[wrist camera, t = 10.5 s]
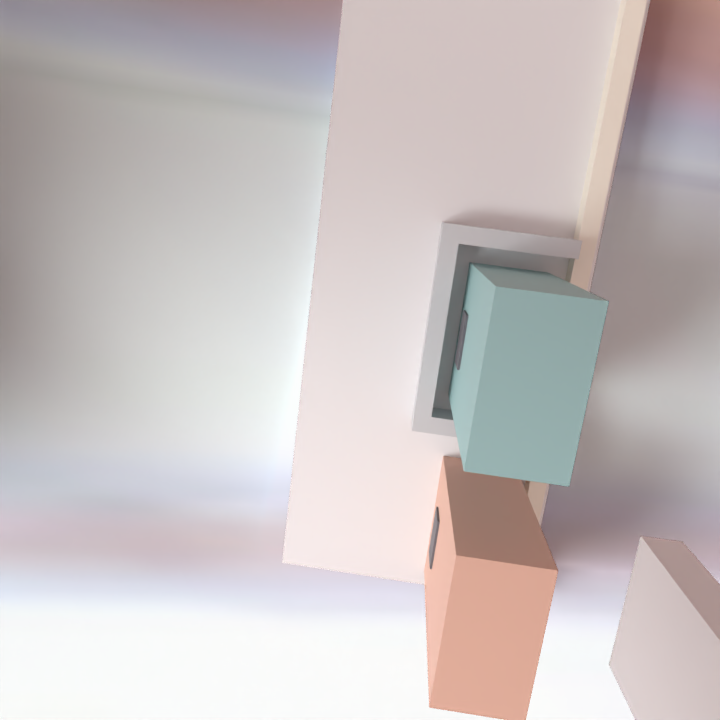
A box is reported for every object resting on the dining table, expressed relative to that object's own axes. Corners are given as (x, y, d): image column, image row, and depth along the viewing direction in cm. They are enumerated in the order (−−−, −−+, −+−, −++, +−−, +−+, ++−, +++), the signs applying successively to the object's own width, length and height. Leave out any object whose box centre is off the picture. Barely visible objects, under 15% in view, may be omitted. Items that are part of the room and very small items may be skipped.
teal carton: (446, 393, 40) (460, 470, 28) (467, 261, 38) (492, 286, 26) (524, 404, 40) (572, 487, 28) (550, 272, 38) (612, 301, 26)
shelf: (286, 551, 45) (276, 579, 41) (350, -34, 36) (344, -59, 33) (521, 587, 44) (531, 618, 41) (642, -1, 36) (666, -23, 32)
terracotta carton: (422, 570, 43) (426, 706, 31) (441, 455, 41) (453, 554, 29) (495, 581, 42) (527, 723, 31) (517, 466, 41) (561, 571, 29)
